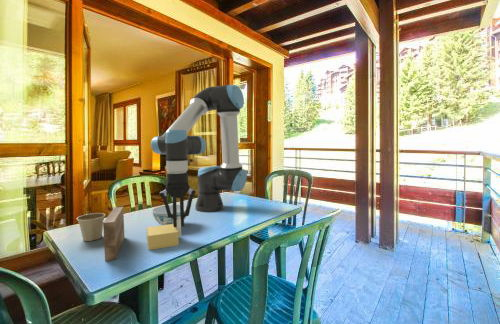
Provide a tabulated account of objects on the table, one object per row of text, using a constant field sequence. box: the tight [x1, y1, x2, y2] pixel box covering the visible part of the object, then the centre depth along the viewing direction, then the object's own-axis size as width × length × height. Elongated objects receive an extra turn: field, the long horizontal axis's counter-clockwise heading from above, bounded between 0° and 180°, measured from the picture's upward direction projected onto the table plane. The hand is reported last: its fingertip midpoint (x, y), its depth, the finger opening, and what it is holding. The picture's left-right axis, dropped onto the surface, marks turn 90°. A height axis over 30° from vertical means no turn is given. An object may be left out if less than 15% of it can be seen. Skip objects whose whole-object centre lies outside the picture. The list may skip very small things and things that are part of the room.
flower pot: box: [76, 212, 106, 242], centre depth 99 cm, size 9×9×9 cm
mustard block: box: [146, 224, 180, 250], centre depth 95 cm, size 10×10×5 cm
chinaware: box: [151, 204, 187, 228], centre depth 113 cm, size 15×15×8 cm
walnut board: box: [102, 206, 125, 262], centre depth 90 cm, size 3×20×12 cm, turn 18°
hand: (179, 235), depth 97 cm, fingers closed
